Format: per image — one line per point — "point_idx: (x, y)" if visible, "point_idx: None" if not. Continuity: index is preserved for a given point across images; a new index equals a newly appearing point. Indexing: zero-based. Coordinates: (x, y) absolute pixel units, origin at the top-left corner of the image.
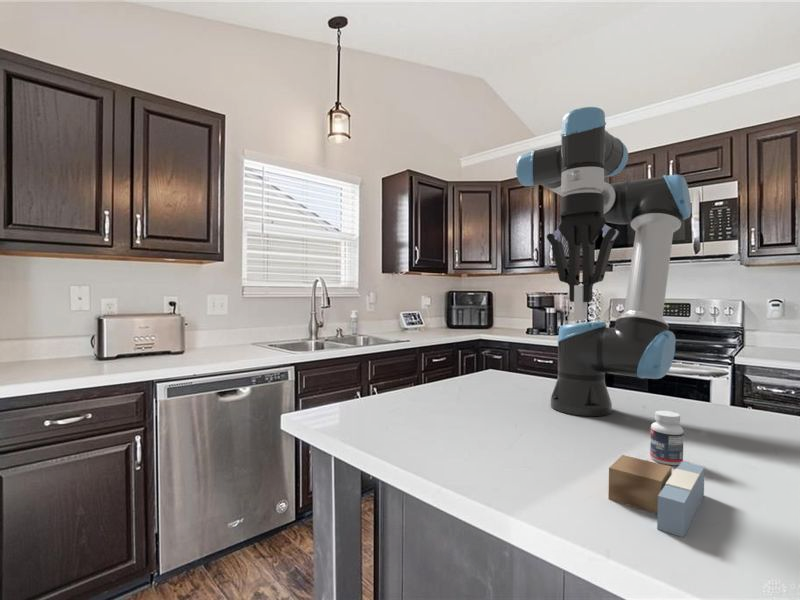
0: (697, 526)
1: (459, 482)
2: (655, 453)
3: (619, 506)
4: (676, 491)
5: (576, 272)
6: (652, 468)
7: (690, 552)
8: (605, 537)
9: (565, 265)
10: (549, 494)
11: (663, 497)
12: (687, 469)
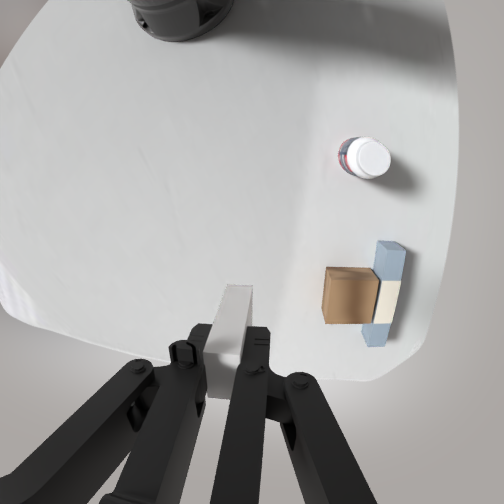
0: None
1: None
2: (348, 172)
3: None
4: (380, 330)
5: (194, 424)
6: (362, 298)
7: None
8: (330, 362)
9: (120, 430)
10: (274, 331)
11: (371, 346)
12: (391, 272)
